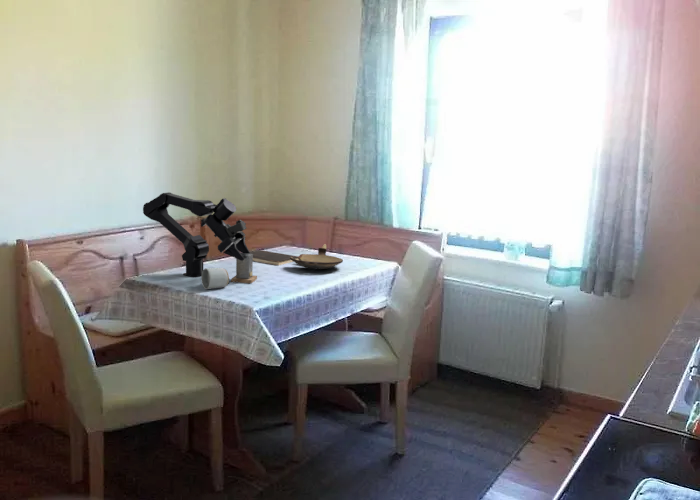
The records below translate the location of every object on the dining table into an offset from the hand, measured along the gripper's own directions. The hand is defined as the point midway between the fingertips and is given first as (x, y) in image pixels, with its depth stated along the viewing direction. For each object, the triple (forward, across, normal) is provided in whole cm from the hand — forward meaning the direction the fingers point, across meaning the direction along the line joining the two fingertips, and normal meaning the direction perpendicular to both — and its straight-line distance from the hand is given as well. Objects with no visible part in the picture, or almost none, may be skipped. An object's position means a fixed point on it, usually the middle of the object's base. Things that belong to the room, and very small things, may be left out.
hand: (246, 257), depth 259 cm
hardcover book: (+6, +43, +8) cm, 44 cm away
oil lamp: (+23, +33, -10) cm, 41 cm away
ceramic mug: (0, -14, +13) cm, 19 cm away
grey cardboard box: (+5, 0, +6) cm, 8 cm away
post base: (+6, 0, +7) cm, 9 cm away
